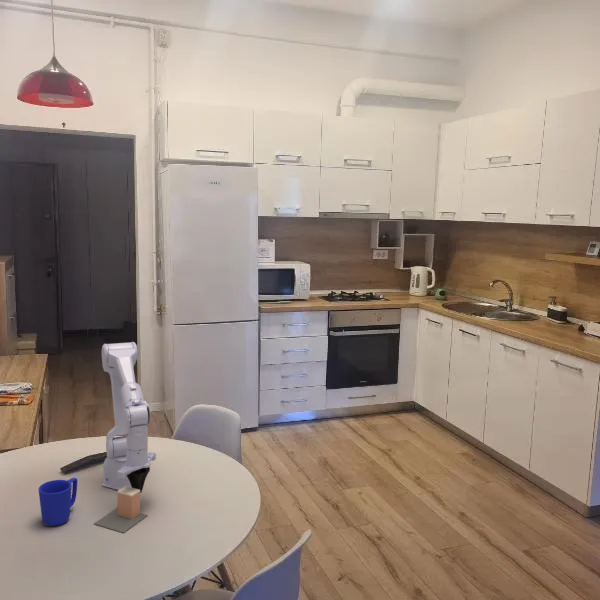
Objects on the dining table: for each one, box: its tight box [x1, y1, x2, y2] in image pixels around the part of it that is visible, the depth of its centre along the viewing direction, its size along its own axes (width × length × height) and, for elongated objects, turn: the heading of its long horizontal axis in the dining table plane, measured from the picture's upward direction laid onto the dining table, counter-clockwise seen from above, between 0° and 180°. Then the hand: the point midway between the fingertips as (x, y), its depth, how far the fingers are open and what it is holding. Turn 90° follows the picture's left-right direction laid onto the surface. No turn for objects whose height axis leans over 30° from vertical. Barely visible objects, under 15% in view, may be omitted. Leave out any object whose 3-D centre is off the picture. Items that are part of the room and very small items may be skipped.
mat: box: [93, 507, 148, 534], centre depth 160 cm, size 10×10×1 cm
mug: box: [38, 477, 78, 527], centre depth 159 cm, size 8×12×10 cm
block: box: [116, 486, 141, 519], centre depth 162 cm, size 5×4×7 cm
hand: (137, 492), depth 165 cm, fingers closed
